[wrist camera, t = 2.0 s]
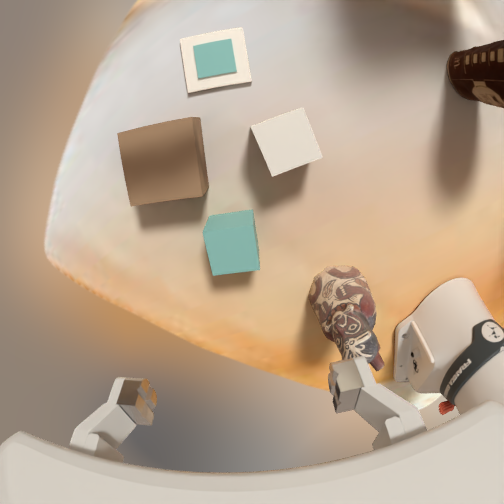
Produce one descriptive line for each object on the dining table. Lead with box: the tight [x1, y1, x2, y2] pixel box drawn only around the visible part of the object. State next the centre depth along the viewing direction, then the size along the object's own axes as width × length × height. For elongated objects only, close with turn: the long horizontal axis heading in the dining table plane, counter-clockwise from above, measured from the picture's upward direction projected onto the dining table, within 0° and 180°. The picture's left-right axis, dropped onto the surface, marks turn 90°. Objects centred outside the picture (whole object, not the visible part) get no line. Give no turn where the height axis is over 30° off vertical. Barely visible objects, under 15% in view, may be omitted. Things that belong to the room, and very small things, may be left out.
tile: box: [180, 27, 252, 93], centre depth 21 cm, size 6×6×1 cm
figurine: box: [309, 265, 384, 371], centre depth 27 cm, size 7×7×12 cm
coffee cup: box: [447, 40, 504, 108], centre depth 14 cm, size 9×8×13 cm
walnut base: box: [117, 117, 209, 206], centre depth 24 cm, size 7×7×4 cm
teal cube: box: [203, 210, 260, 276], centre depth 27 cm, size 4×4×4 cm
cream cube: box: [251, 107, 323, 177], centre depth 23 cm, size 4×4×4 cm
